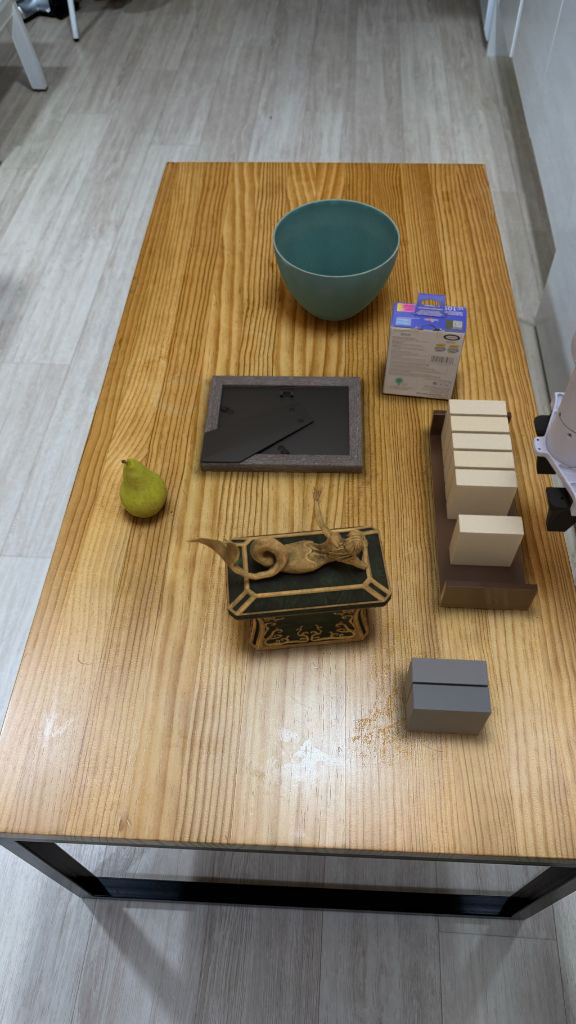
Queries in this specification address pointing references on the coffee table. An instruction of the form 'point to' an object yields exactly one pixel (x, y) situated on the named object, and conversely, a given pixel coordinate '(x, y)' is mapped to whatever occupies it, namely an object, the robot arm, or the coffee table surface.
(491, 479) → the cream books
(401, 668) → the coffee table surface
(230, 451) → the picture frame
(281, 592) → the decorative box
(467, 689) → the grey books
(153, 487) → the fruit
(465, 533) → the cream book
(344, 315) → the teal bowl
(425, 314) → the ink cartridge box
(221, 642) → the coffee table surface
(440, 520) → the book rack
